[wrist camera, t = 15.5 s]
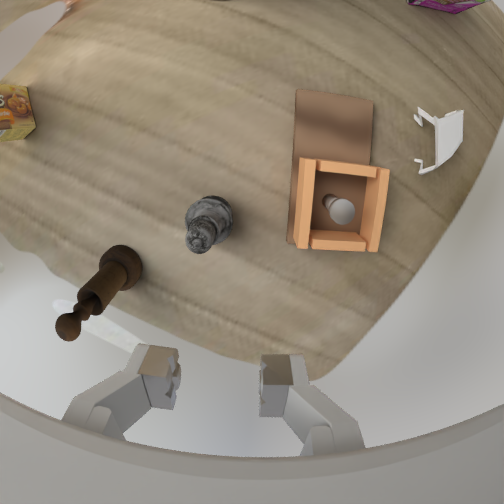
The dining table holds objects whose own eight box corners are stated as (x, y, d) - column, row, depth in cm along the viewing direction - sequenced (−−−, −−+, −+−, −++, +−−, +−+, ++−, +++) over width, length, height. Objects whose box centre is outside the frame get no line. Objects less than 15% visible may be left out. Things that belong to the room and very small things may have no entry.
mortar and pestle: (140, 288, 42) (90, 366, 25) (105, 278, 41) (45, 347, 25) (143, 249, 40) (83, 319, 23) (105, 240, 39) (34, 299, 22)
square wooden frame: (299, 157, 33) (305, 158, 30) (376, 166, 34) (389, 169, 30) (293, 237, 37) (297, 248, 33) (366, 241, 37) (377, 252, 34)
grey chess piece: (235, 194, 37) (227, 217, 26) (233, 237, 39) (226, 276, 28) (191, 192, 37) (164, 214, 25) (191, 235, 39) (167, 272, 28)
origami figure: (412, 90, 31) (430, 86, 26) (453, 113, 31) (472, 112, 27) (396, 165, 35) (413, 170, 30) (438, 183, 36) (457, 190, 31)
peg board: (295, 90, 32) (306, 78, 25) (368, 102, 32) (393, 95, 25) (286, 239, 39) (293, 261, 32) (354, 243, 39) (374, 264, 32)
